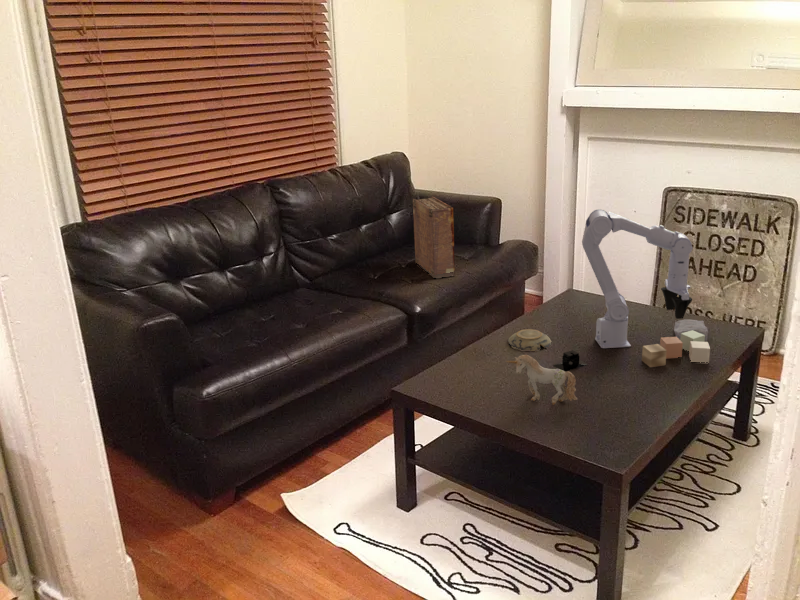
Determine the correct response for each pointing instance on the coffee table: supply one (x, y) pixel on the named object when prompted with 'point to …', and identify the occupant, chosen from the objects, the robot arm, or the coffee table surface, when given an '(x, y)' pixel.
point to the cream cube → (699, 351)
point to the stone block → (690, 327)
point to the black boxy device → (570, 361)
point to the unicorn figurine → (546, 378)
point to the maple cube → (654, 355)
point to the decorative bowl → (529, 340)
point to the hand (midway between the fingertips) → (674, 313)
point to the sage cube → (691, 338)
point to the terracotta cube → (672, 346)
